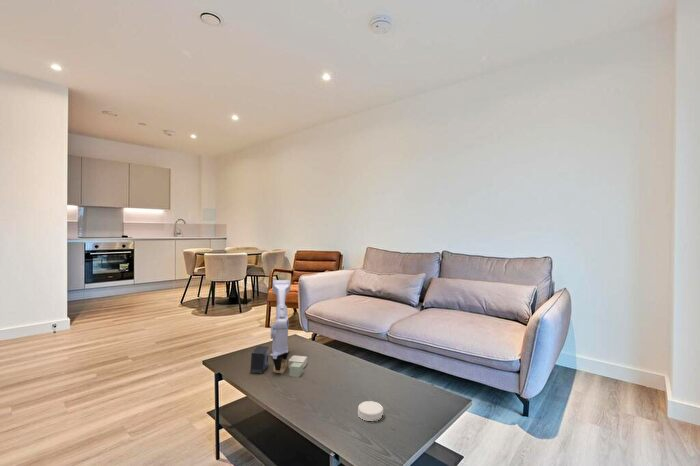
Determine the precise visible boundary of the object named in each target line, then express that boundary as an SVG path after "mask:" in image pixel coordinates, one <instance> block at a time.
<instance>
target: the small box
mask: <svg viewBox="0 0 700 466" xmlns="http://www.w3.org/2000/svg"><path fill="white" fill-rule="evenodd" d="M269 349H270V347H269V346H265V345H263V346H262V345H257V346H256V347H255V348H254V349H253V351H252V352H251V357H250V370H249V371H250V373H249V374H257V375H258V374H259V375H263V373H264V372H265V370H266V369H267V368H268V366H269V351H270V350H269Z"/></svg>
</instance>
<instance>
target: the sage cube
mask: <svg viewBox="0 0 700 466" xmlns="http://www.w3.org/2000/svg"><path fill="white" fill-rule="evenodd" d="M303 373H304V368H303V363H296V362H294V363H293V364H292V365H291V366H290V368H289V377H293V378H294V377H295V378H300V377H301V376H302V375H303Z"/></svg>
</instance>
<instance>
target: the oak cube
mask: <svg viewBox="0 0 700 466" xmlns="http://www.w3.org/2000/svg"><path fill="white" fill-rule="evenodd" d="M287 368H288V360H287V359H286V360H284V359H282V362H281V368H280V371H278V370H276V369H275V365H274V364H273V373H277V374H278V373H279V374H284V373H285V371H287Z"/></svg>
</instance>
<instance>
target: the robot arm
mask: <svg viewBox="0 0 700 466" xmlns="http://www.w3.org/2000/svg"><path fill="white" fill-rule="evenodd" d="M290 290H291V280H290V279H285V280H284V279H282V280H281V279H277V280H276V279H273V280H272V293H273V294H275V295H276V309H275V310H276V311H275V313H276V314H275V315H276V316H275V322H273V323H272V324H271V326H270V339H271V340H272V348H271V349H272V352H271V353H269V354H268V357H269V356H270V357H271V360H272V361H273V366H274V365H275V369H276V370H278V371H280V368H281V362H282V359H284V360H287V358H288V356H289V354H290V351H289V345H288V337H289V316H288V306H287V305H286V295H287V294H289V292H291V291H290Z"/></svg>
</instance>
